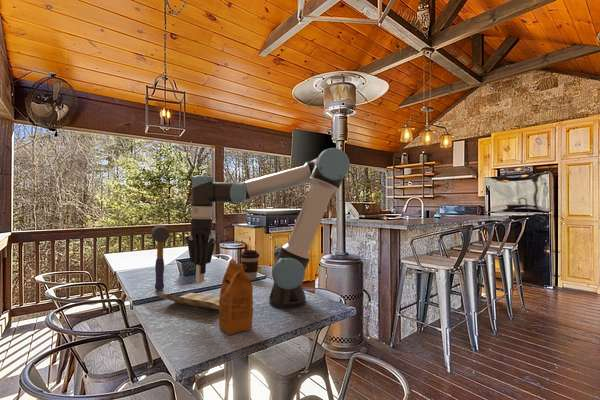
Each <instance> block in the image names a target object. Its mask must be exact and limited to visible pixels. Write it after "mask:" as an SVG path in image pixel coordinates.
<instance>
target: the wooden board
mask: <svg viewBox="0 0 600 400" xmlns="http://www.w3.org/2000/svg"><path fill="white" fill-rule="evenodd" d="M179 297H183V298H189V299H194V300H200V301H206V302H211V303H214V304H216V305H219V299H220V296H213V295H207V294H201V293H195V292H189V293H185V294H183V295H181V296H179ZM175 303H176V304H181V305H185V304H184V303H179V302H175ZM186 305H187V306H193V307H197V308H198V307H199V308H204V309H210V310H215V311H218V312H219V310H216V309H211V308H206V307H200V306H197V305H196V306H195V305H190V304H186Z"/></svg>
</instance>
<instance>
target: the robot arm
mask: <svg viewBox="0 0 600 400" xmlns="http://www.w3.org/2000/svg"><path fill="white" fill-rule="evenodd" d="M350 166H351V165H350V158H349V155H347V153H346V152H345V151H343V150H342V149H341V148H340V149H339V148H337V147H331V148H330V147H329V148H326V149H324V150H322V151H321V152H320V153H319V155H318V156H317V157H316V158H314V159H312V160H310V161H309V160H308V161H306V162H305V163H304V164H303V165H301V166H297V167H293V168H290V169H286V170H281V171H279V172H275V173H270V174H267V175H263V176H260V177H255V178H251V179H248V180H245V181H241V182H238V181H237V182H229V181H228V182H226V181H224V182H223V181H221V182H220V181H219V182H218V181H215V180H214V177H213V176H210V175H195V176H193V177H192V183H191V208H190V209H191V210H190V211H191V213H190V215H191V217H192V218H191V219H190V229H191V231H190V234H189V235H187V236H185V240H186V243H187V249H188V254H189V261H190V263H193V264H194V274H195V284H201V283H204V282H205V274H206V272H207V271H206V267H207V264H210V263H211V262H212V259H213V258H212V257H213V254H214V248H215V244H216V242H217V241H218V237H214V236H213V234H212V228H213V219H212V218H213V215H214V214H213V211H214V209H213V205H214V204H213V203H225V204H228V203H230V204H231V203H232V204H243V203H245V202H246V200H251V199H254V198H258V197H261V196H265V195H266V196H267V195H269V194H274V193H276V192H280V191H284V190H287V189H291V188H295V187H298V186H302V185H306V184H310V187H309V189H308V192H307V194H306V197H305V198H304V199H305V200H304V201H303V204H302V207H301V209H300V212H299V213H298V215H297V217H296V221H295V223H294V225H293V228H292V231H291V233H290V235H289V238H288V240H287V242H286V243H284V244H282V245H281V246H279V247H278V246H277V247H275V248H274V251H273V264H272V267H271V268H272V269H271V277H272V279H273V285H272V289H271V291H270V295H269V297H268V298H269V299H268V300H269V301H268V303H269V305H270V306H272V307H274V308H279V309H287V310H288V309H297V308H301V307H303V306H305V305H306V301H307V297H306V294H305V290H304V287H303V282H304V279H305V277H306V270H307V269H308V268H307V267H308V264H309V263H310V260H311V256H310V252H309V251H310V249H311V247H312V244H313V242H314V239H315V237H316V235H317V233H318V230H319V227H320V225H321V223H322V220H323V217H324V215H325V213H326V211H327V209H328V206H329V203H330V200H331V198H332V196H333V193H334V192H337V191H338V190H340V188H341V185H342V182H343V180H344V177H346V176H347V174H348V173H349V171H350Z"/></svg>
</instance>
